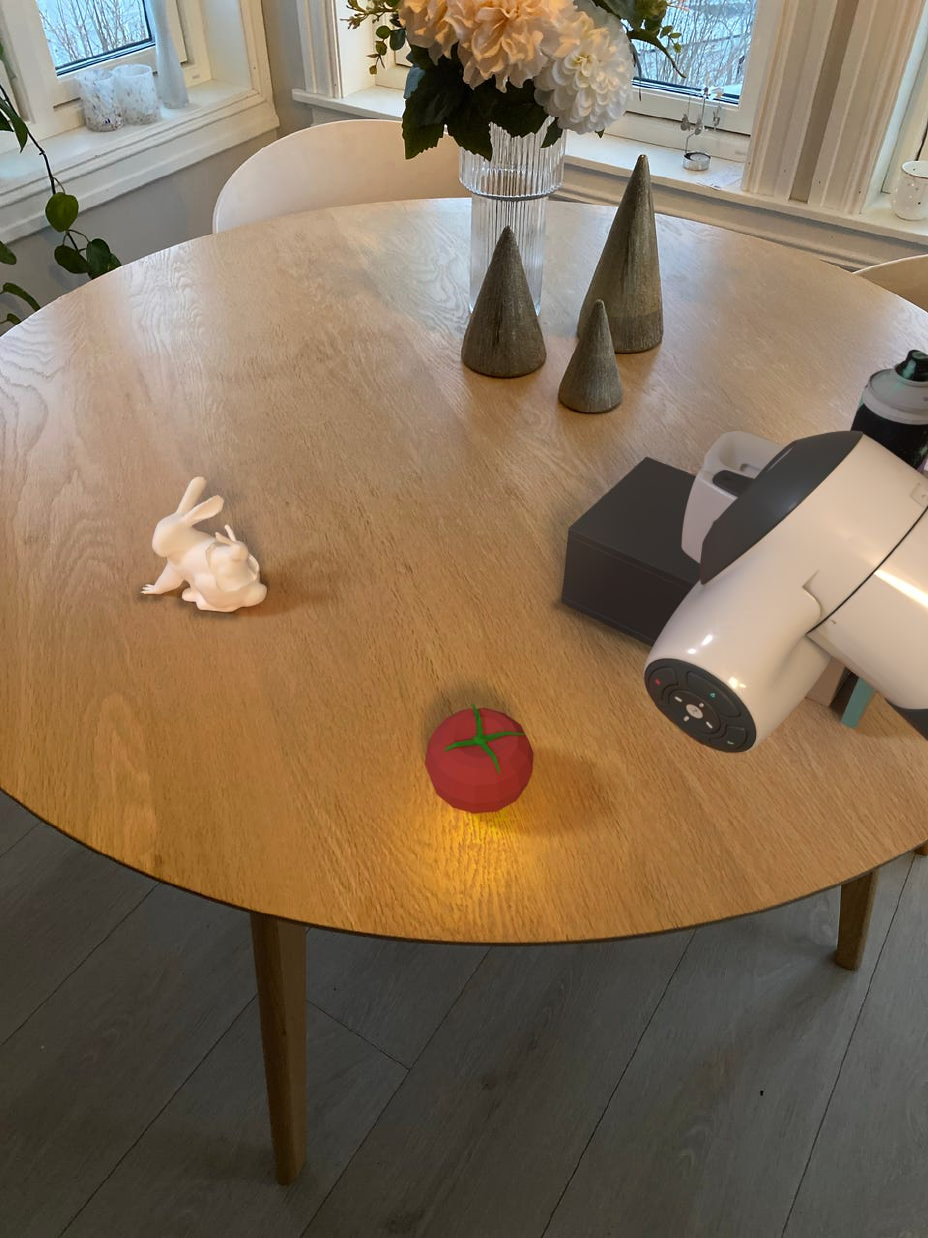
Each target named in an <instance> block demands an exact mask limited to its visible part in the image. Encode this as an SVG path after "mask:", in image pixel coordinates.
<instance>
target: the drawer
mask: <svg viewBox="0 0 928 1238" xmlns="http://www.w3.org/2000/svg"><path fill="white" fill-rule="evenodd" d="M851 672H852V671H851V670H850V669H848V668H847V667H846V666H844V665H843V664H842V663H841V662H839V661H838V660H837V659H836V658H834V657H833V656H832V657H831V659H830V661H829V663H828V665H827V667H826V669H825V670H824V672H823V673H822V674H821V676H820V677H819V679H818V680H817V681H816V683H815V684H814V686H813V687H812V688H811V690H810V691H809V692H808V694H807V695H806V696H805V698H808V699H809V700H813V701H814V702H816V703H819V704H821V705H823V706H825V707H830V705H831V703H832V702H833V700H834V699H835V697H836V696H837V694H838V693H839V691H840V689H841V688H842V686H843V684H844V683H845V681H846V680H847V678H848V677H849V675H850V674H851ZM877 693H878V692H877V691H876V690H875V689H873V688H872V687H871V686H870V685H868V684H867V683H866V682H865V681H863V680H862V679H861V678H860V677H858V679H857V681H856V683H855V686H854V688H853V691H852V693H851V696H850V698H849V700H848V702H847V704H846V707H845V709H844V712H843V714H842V716H841V719H840V724H842V725H844V726H846V727H848V728H850V729H853V730H856V728H857V726H858V724H859V723H860V721H861V720H862V718H863V717H864V714H865V713H866V711H867V710H868V709H869V706H870V704H871V703H872V701H873V700H874V697H875V696H876V694H877Z"/></svg>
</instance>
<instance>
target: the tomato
mask: <svg viewBox="0 0 928 1238" xmlns="http://www.w3.org/2000/svg"><path fill="white" fill-rule="evenodd" d="M471 706H472V708H465V709H461V710H459V711H457V712H455V713H453V714H451V715H449V716H447V717H445V718H444V719H443V720H442V721H441V722H440V724H439V725H438V726H437V727H436V728H435V730H434V731H433V732H432V734H431V736H430V738H429V741H428V743H427V746H426V747H427V748H426V753H425V760H424V766H425V769H426V771H427V774H428V777H429V779H430V782H431V783H432V787H433V789H434V791H435V794H436V795H437V796H438V797H439V798H441V799H442V800H443V801H444V802H445V803H446V804H448V805H449V806H450V807H451V808H453V809H457V810H460V811H464V812H468V813H471V814H473V815H477V814H484V813H496V812H499V811H501V810H502V809H505V808H507V807H508V806H510V805H512V804H514V803H516V802H517V801H518V800H519V798H520V796H521V795H522V794H523V792H524V791H525V789H526V788H527V786H528V784H529V782H530V779H531V777H532V776H533V773H534V772H533V770H534V756H535V752H534V750H533V747H532V744H531V742H530V740H529V738H528V736H527V734H526V732H525V730H524V729H523V727H522V724H521V723H519V722H518V721H516V720H515V719H514V718H512V717H511V716H510V715H508V714H507V713H506V712H503V711H499V710H495V709H491V708H487V707H477V706H476V704H475V703H474V702H473V703H471Z"/></svg>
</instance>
